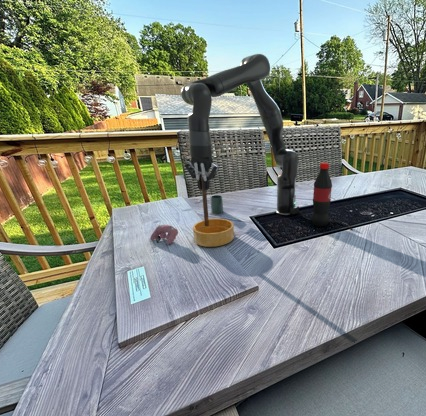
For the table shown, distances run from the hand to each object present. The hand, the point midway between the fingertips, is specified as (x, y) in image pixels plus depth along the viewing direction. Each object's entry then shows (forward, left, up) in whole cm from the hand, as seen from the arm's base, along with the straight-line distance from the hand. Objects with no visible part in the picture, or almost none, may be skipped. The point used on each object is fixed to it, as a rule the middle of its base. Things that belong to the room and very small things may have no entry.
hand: (203, 189), depth 101 cm
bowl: (-3, 0, -21) cm, 21 cm away
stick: (0, 0, -15) cm, 15 cm away
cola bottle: (-43, -28, -21) cm, 55 cm away
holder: (+10, -27, -21) cm, 36 cm away
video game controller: (+15, +6, -21) cm, 27 cm away
